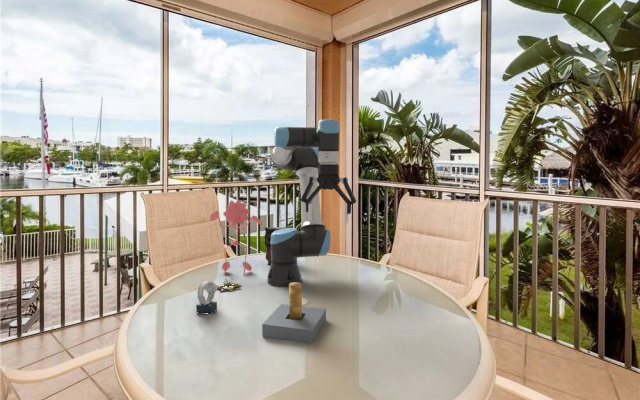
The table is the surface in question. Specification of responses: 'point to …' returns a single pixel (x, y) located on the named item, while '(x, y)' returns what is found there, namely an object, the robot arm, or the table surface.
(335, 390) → the table surface
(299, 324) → the hole block
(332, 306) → the table surface
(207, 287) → the watch
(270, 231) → the owl
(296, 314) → the ochre pin
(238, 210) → the figurine
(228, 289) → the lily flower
